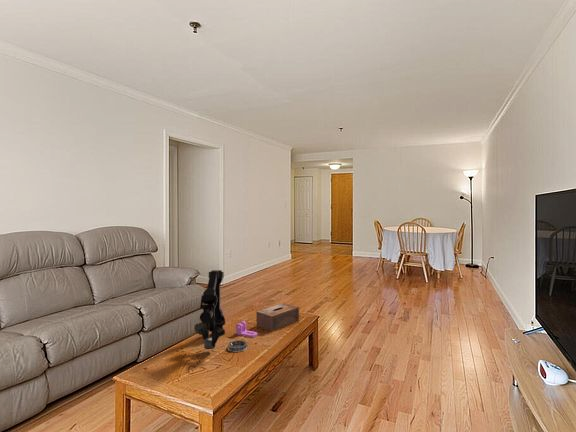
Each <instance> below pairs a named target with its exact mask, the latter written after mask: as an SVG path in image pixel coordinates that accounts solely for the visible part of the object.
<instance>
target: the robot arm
mask: <svg viewBox="0 0 576 432" xmlns="http://www.w3.org/2000/svg"><path fill="white" fill-rule="evenodd" d="M224 276H225V272H224V271H222V269H221V270H219V269H217V270H216V269H215V270H211V271H208V277H207V278H208V283H207V288H206V289H205V290H204V291H203V293H202V295H201V299H200V309H202V312H201V313H200V315H199V321H200V322H198V323H196V324H195V325H194V332H195V334H198V335H200V336H201V337H202V339H203V341H204V339H206V338H212V346H213V347H214V346H215V347H216V344H217V341H218V340H219V337H221V336H225V335H226V331H225V329H224V325H226V318H225V315H224V312H223V309H222V308H221V284H222V282H223V279H224ZM209 334H210V335H209Z"/></svg>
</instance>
